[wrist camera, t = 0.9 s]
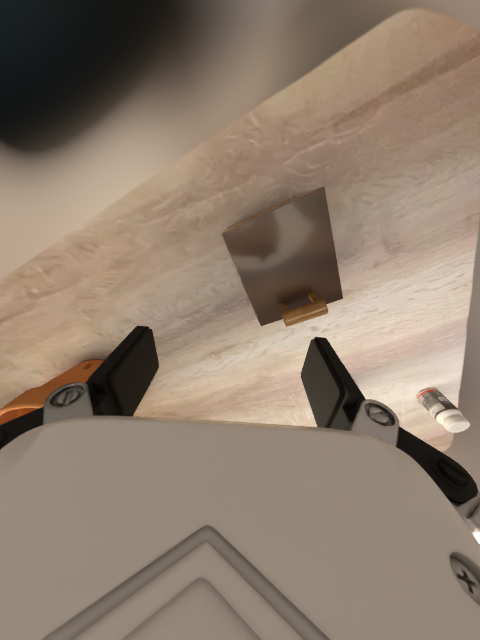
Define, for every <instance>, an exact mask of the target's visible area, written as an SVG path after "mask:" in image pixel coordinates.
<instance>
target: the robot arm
mask: <svg viewBox="0 0 480 640" xmlns="http://www.w3.org/2000/svg"><path fill="white" fill-rule="evenodd" d="M158 368H159V362H158V357H157V352H156V347H155V342H154V337H153V331H152V329H149V327H148V326H136V327H135V328H134V329H133V331H132V332H131V333H130V334H129V335H128V336H127V337H126V338H125V339H124V340H123V341H122V342H121V343H120V344H119V346H118V347H117V348H116V349H115V350H114V351H113V352H112V353H111V354H110V355H109V356H108V357H107V358H106V359H105V361H104V362H103V363H102V364H101V365H100V366H99V367H98V368H97V369H96V370H95V371H94V372H93V373H92V374H91V376H90V377H89V379H88V380H87V381H86V382H85V383H84V382H73V383H69V384H66V385H64V386H61V387H59V388H58V389H56V390H54V391H53V392H52V393H51V394H50V395H49V396H48V397H47V398H46V400H45V403H44V406H43V407H41V408H39V409H36V410H34V411H32V412H29V413H27V414H25V415H22V416H20V417H18V418H15V419H13V420H11V421H8V422H6V423H4V424H1V425H0V640H480V492H479V491H478V489H477V485H476V483H475V482H474V480H473V478H472V477H471V476H470V475H469V473H468V472H467V471H466V470H465V469H464V468H463V467H462V466H461V465H459V464H458V463H457V462H455V461H454V460H453V459H451V458H450V457H448V456H447V455H445V454H443V453H442V452H440V451H438V450H437V449H435V448H434V447H432V446H430V445H429V444H427V443H425V442H424V441H422V440H420V439H419V438H417V437H416V436H414V435H412V434H411V433H409V432H407V431H406V430H404V429H403V428H401V427H399V420H398V418H397V416H396V414H395V413H394V412H393V411H392V410H391V409H390V408H389V407H387V406H386V405H384V404H383V403H380V402H378V401H375V400H371V399H370V400H366V399H365V397H364V396H363V394H362V393H361V391H360V390H359V388H358V387H357V385H356V383H355V382H354V380H353V379H352V377H351V376H350V374H349V372H348V371H347V369H346V368H345V366H344V365H343V363H342V362H341V361H340V359H339V357H338V356H337V354H336V353H335V351H334V350H333V348H332V346H331V345H330V343H329V342H328V340H327V339H326V338H321V337H315V338H314V339H312V340H311V342H310V345H309V349H308V352H307V355H306V358H305V362H304V365H303V368H302V372H301V379H302V382H303V385H304V388H305V391H306V394H307V397H308V400H309V403H310V406H311V409H312V412H313V415H314V418H315V421H316V424H317V427H306V426H292V425H277V424H261V423H245V422H228V421H211V420H194V419H175V418H156V417H135V416H133V414H134V413H135V411H136V409H137V407H138V405H139V403H140V402H141V400H142V398H143V396H144V394H145V392H146V391H147V389H148V387H149V385H150V383H151V381H152V380H153V378H154V376H155V374H156V372H157V370H158Z"/></svg>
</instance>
